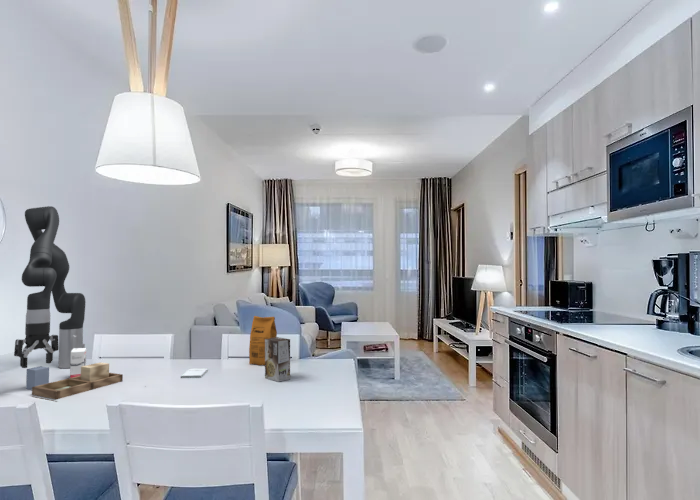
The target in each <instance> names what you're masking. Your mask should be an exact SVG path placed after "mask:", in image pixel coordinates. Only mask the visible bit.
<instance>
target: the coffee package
mask: <svg viewBox="0 0 700 500" xmlns="http://www.w3.org/2000/svg"><path fill="white" fill-rule="evenodd" d="M252 318H253V320H252V323H251V330H250V334H249V335H250V336H249V347H248V355H249V356H248V357H249V361H248V362H249V363H248V365H258V366H265V339H269V338H274V337H278V336H277V335H278V332H277V326H276V321H275V320H276V317H275V316H264V317H261V316H257V315H254V316H253V317H252Z"/></svg>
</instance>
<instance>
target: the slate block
mask: <svg viewBox="0 0 700 500" xmlns="http://www.w3.org/2000/svg"><path fill="white" fill-rule="evenodd" d="M25 376H26V380H25V381H26V382H25V389H26V390H31V391H32V387H35V386H39V385H43V384H47V383H50V367H49V366H42V365H40V366H36V367H30V368H26V375H25Z"/></svg>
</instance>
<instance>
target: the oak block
mask: <svg viewBox="0 0 700 500" xmlns="http://www.w3.org/2000/svg"><path fill="white" fill-rule="evenodd" d="M109 373H110V363H108V362H102V361H101V362H95V363H91V364H86V366H82V367H81V380H84V381H90V382H92V381H96V380H100V379H104V378H108V377H109Z"/></svg>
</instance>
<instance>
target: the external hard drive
mask: <svg viewBox="0 0 700 500" xmlns="http://www.w3.org/2000/svg"><path fill="white" fill-rule="evenodd" d="M208 371H209V369H208V368H189V369H187V370H185V372H184V373H183V374H182V375H181V374H180V379H201V378H202V377H203V376H205V374H206V373H208Z"/></svg>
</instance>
